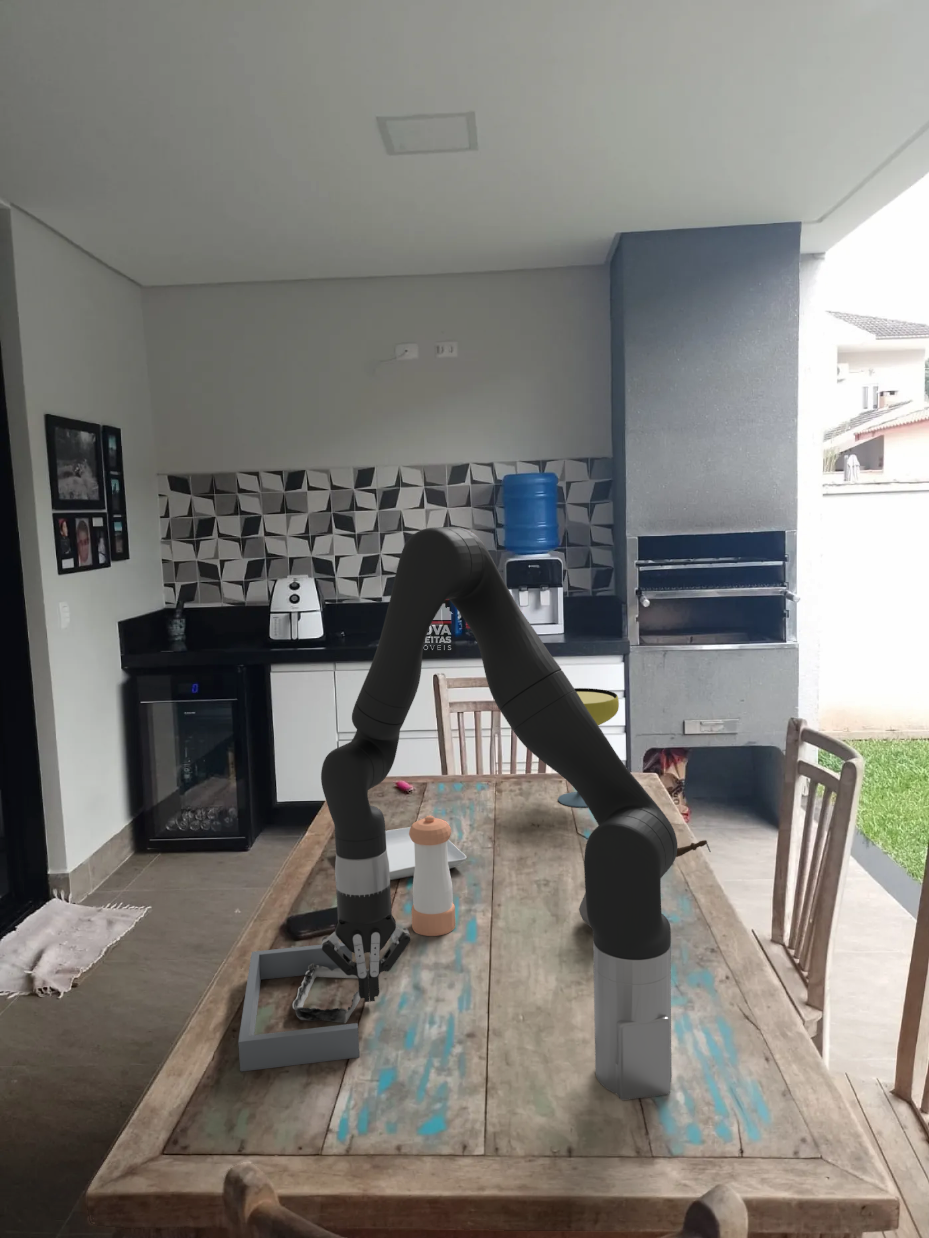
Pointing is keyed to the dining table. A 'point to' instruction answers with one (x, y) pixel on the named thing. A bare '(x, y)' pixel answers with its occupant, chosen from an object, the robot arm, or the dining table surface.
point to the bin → (294, 1043)
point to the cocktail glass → (601, 710)
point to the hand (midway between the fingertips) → (369, 998)
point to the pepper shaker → (432, 878)
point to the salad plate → (411, 853)
